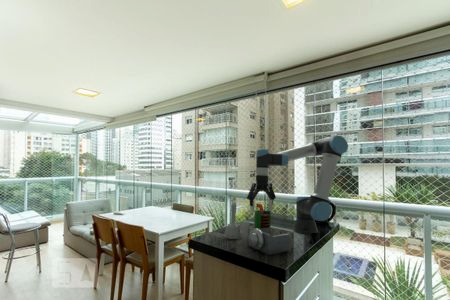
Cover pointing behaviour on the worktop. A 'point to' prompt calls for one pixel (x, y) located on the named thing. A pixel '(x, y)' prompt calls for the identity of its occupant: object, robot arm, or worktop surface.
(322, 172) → the robot arm
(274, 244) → the flange bracket
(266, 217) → the motor
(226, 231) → the engine component
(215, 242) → the worktop surface
